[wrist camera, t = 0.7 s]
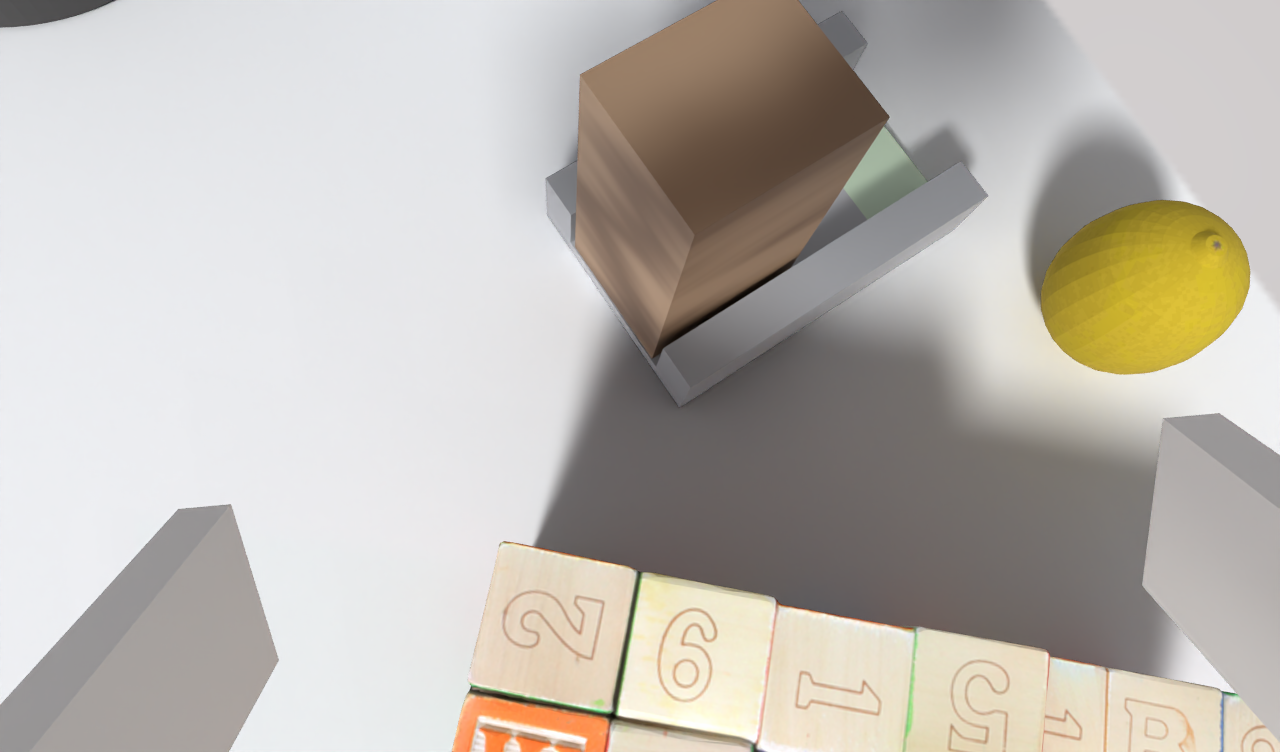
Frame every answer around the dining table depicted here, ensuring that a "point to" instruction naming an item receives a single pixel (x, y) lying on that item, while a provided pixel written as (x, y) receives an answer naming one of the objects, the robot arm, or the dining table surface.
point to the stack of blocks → (790, 678)
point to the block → (713, 159)
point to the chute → (806, 251)
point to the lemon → (1145, 287)
